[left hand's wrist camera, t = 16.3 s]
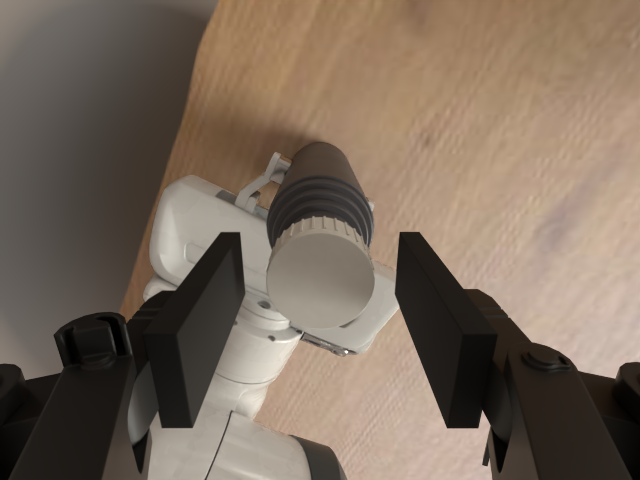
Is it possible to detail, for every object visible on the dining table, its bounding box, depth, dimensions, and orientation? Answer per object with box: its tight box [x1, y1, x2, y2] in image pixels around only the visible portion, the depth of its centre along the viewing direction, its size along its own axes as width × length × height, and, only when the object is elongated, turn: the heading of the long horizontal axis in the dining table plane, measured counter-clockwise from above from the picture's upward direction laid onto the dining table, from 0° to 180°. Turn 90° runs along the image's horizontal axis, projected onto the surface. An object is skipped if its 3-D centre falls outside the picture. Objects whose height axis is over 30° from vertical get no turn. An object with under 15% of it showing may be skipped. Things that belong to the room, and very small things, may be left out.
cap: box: [266, 216, 375, 329], centre depth 13 cm, size 4×4×2 cm
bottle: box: [266, 143, 374, 250], centre depth 23 cm, size 6×6×21 cm
